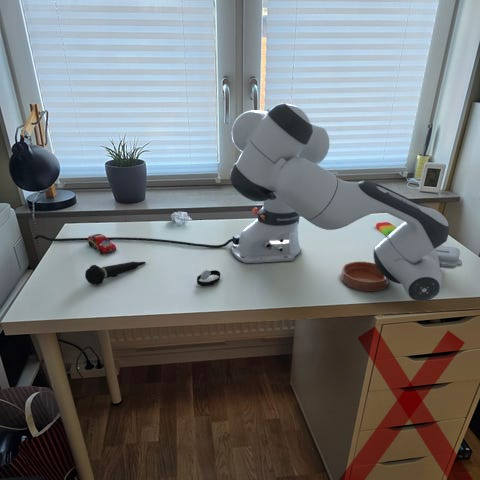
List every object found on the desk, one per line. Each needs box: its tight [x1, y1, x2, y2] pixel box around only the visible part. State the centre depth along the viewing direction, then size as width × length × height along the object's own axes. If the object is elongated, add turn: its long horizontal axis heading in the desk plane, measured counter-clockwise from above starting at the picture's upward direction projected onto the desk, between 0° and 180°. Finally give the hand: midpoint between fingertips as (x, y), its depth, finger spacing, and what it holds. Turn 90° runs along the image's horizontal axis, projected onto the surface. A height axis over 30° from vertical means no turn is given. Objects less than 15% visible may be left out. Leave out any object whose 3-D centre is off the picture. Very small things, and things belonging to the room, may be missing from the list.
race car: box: [87, 233, 117, 256], centre depth 145 cm, size 13×5×4 cm, turn 39°
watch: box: [196, 269, 221, 287], centre depth 126 cm, size 8×5×4 cm, turn 131°
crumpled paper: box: [170, 211, 193, 226], centre depth 166 cm, size 8×4×7 cm
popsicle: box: [375, 221, 398, 237], centre depth 158 cm, size 6×15×2 cm, turn 15°
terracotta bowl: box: [340, 261, 390, 292], centre depth 127 cm, size 13×13×3 cm
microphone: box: [84, 261, 146, 286], centre depth 129 cm, size 6×6×20 cm
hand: (418, 242), depth 128 cm, fingers open, 8 cm apart
